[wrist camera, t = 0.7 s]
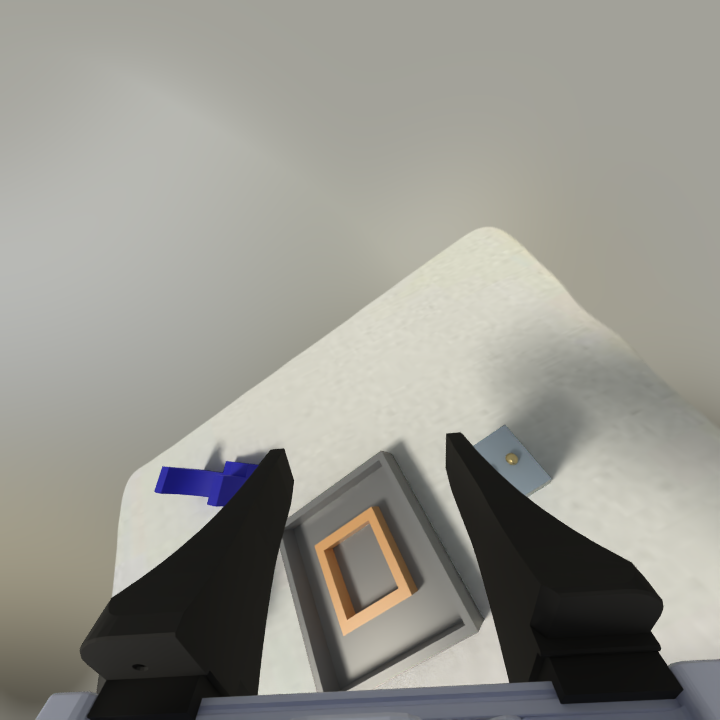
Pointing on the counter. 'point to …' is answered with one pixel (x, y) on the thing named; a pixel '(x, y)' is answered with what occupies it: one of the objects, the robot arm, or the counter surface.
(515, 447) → the connector plug
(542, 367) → the counter surface
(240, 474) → the cable clip
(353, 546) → the box
